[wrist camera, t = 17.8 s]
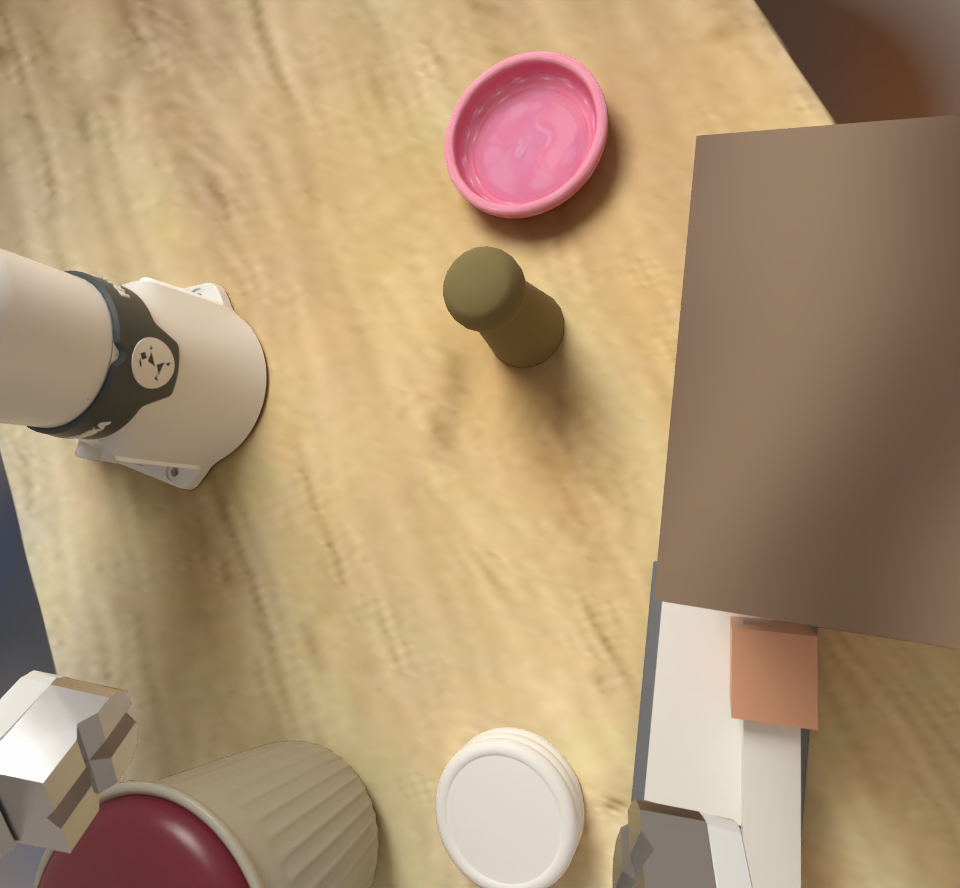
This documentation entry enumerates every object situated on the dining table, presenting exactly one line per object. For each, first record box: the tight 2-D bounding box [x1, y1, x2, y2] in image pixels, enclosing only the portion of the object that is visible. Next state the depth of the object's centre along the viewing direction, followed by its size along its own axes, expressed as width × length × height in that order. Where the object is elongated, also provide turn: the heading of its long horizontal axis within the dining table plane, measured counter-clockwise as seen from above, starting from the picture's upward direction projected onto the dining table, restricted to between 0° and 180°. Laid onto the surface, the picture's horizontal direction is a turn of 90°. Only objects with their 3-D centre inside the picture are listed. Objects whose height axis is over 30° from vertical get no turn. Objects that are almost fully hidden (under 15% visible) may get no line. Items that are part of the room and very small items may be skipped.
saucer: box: [445, 51, 608, 218], centre depth 49 cm, size 12×12×3 cm
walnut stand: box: [654, 115, 960, 650], centre depth 27 cm, size 9×10×32 cm
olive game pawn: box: [443, 246, 564, 368], centre depth 44 cm, size 6×6×11 cm
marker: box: [730, 616, 818, 888], centre depth 37 cm, size 4×20×4 cm, turn 178°
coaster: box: [435, 727, 585, 888], centre depth 44 cm, size 10×10×4 cm
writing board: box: [631, 561, 817, 832], centre depth 41 cm, size 10×16×1 cm, turn 174°
